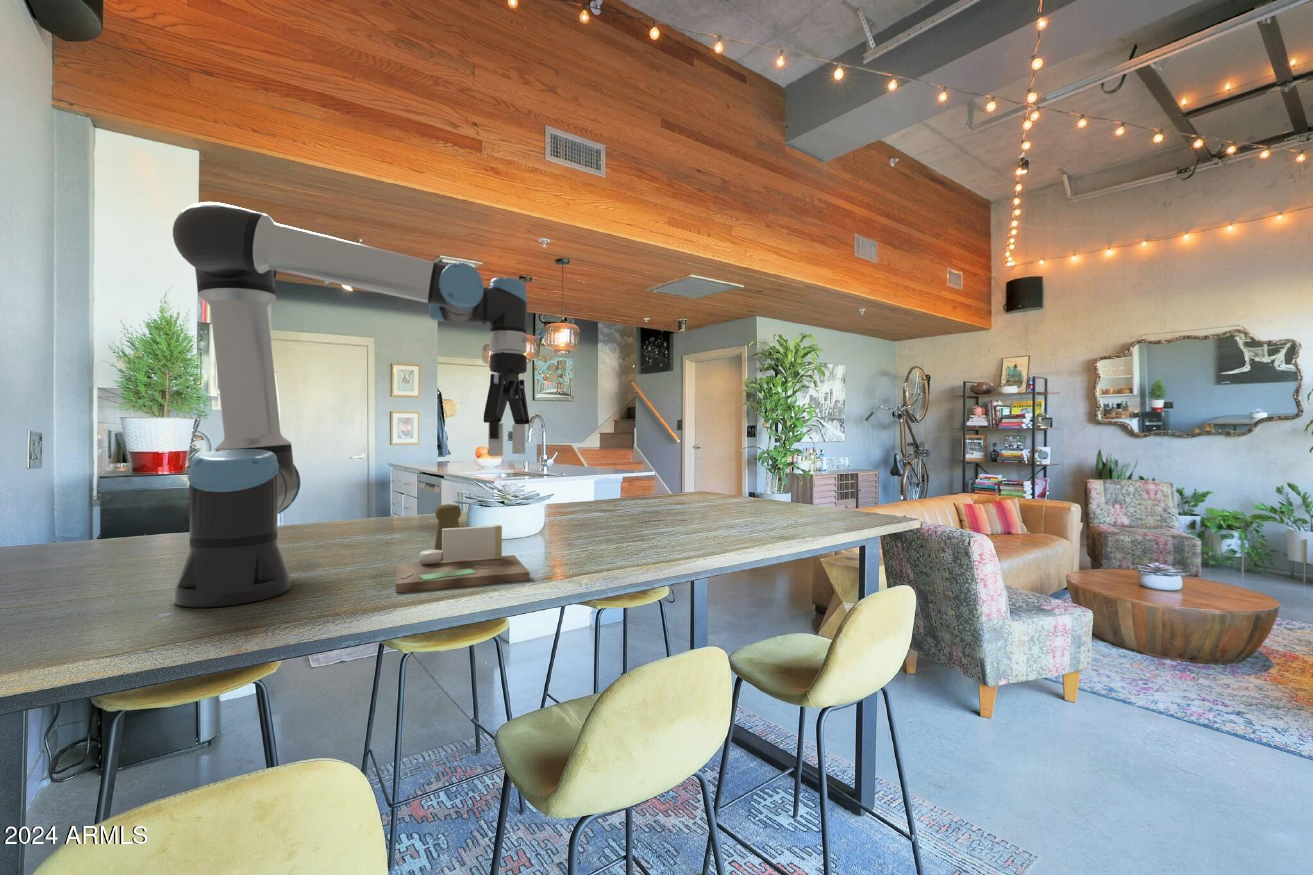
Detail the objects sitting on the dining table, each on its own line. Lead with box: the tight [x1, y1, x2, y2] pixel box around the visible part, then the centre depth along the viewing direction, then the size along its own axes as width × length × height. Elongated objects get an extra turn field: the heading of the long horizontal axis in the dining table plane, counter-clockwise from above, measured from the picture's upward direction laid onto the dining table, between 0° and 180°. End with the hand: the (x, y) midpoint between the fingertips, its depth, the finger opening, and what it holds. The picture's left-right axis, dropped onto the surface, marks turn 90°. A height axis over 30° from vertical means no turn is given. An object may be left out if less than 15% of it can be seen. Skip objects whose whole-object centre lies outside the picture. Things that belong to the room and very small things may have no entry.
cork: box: [433, 503, 462, 551], centre depth 127 cm, size 6×6×11 cm
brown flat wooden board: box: [395, 554, 530, 594], centre depth 109 cm, size 22×16×2 cm
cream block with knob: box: [419, 524, 503, 564], centre depth 114 cm, size 15×4×6 cm, turn 113°
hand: (507, 454), depth 124 cm, fingers open, 13 cm apart
